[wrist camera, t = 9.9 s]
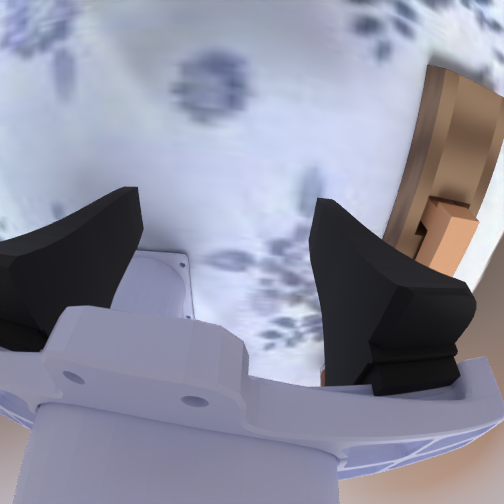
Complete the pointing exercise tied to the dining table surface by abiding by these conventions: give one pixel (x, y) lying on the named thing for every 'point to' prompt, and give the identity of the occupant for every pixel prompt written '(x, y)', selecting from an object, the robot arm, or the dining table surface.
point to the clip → (445, 234)
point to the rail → (447, 153)
